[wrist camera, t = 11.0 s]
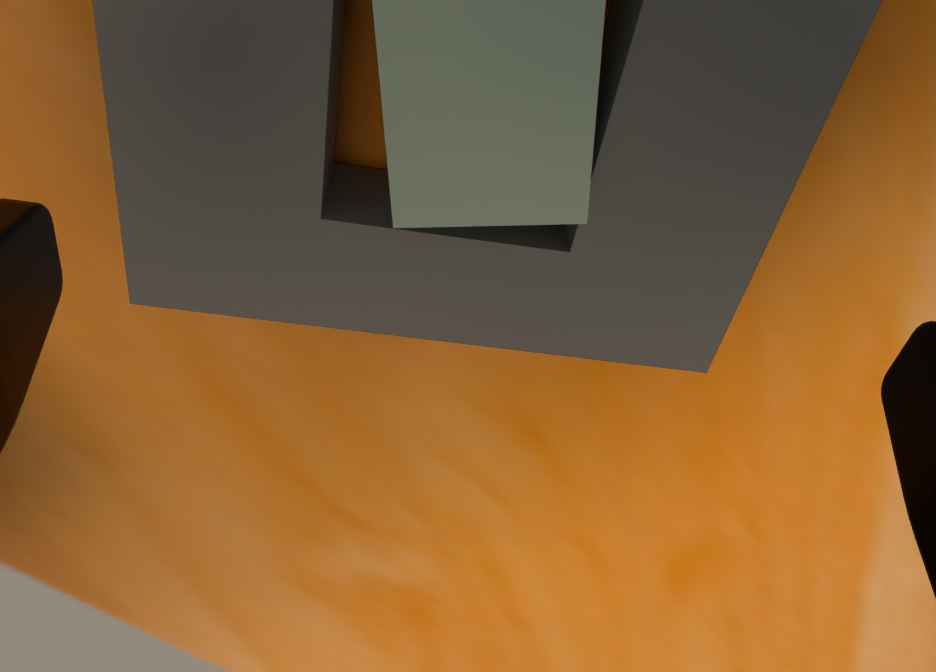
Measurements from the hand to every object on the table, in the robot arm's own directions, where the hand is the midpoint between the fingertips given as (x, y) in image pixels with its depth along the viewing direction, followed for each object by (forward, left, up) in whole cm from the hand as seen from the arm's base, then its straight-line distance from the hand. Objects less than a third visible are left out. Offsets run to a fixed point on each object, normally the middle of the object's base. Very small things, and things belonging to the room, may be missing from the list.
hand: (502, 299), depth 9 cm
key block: (0, 0, -11) cm, 11 cm away
